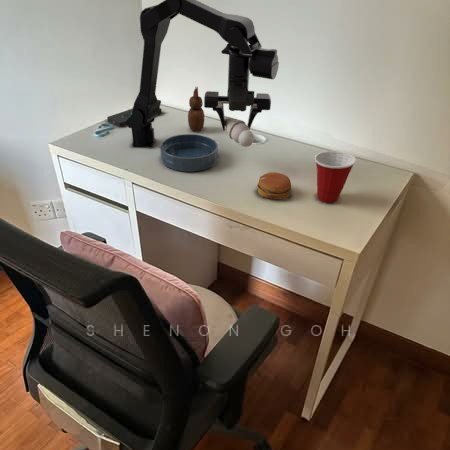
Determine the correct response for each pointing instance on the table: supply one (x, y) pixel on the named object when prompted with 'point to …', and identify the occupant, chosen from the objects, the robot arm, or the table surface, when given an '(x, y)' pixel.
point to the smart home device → (121, 118)
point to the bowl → (189, 152)
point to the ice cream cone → (239, 131)
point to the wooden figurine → (196, 112)
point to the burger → (274, 185)
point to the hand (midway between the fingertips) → (235, 130)
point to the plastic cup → (332, 174)
